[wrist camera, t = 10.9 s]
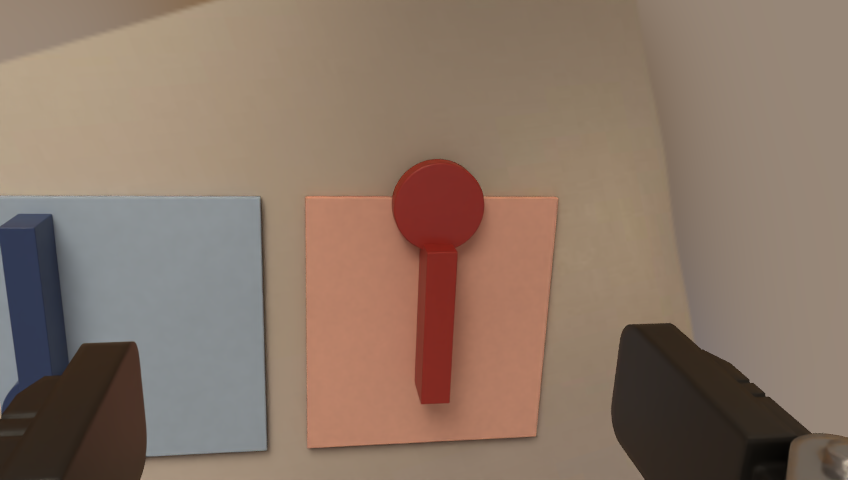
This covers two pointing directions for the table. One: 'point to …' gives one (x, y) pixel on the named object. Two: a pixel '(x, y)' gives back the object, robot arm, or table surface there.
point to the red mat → (397, 324)
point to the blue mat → (164, 307)
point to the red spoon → (436, 260)
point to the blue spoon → (33, 299)
